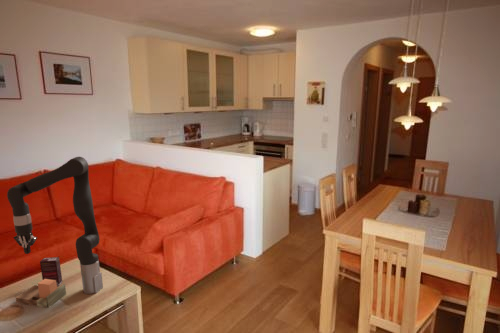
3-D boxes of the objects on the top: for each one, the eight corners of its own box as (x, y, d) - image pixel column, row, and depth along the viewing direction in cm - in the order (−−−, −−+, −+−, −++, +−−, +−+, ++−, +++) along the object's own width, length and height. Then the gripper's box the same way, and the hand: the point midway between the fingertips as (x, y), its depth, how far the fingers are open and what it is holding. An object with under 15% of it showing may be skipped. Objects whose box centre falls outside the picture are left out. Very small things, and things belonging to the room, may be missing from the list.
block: (57, 293, 172) (55, 280, 171) (51, 298, 168) (49, 284, 167) (46, 292, 174) (44, 278, 172) (39, 297, 169) (37, 283, 168)
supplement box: (62, 281, 190) (59, 256, 187) (59, 285, 185) (55, 260, 182) (46, 282, 189) (43, 257, 185) (43, 287, 184) (39, 261, 181)
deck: (66, 294, 177) (65, 284, 176) (48, 307, 166) (47, 297, 164) (35, 289, 181) (34, 280, 180) (16, 302, 170) (14, 292, 168)
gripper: (39, 220, 170) (44, 251, 174) (18, 219, 173) (23, 249, 177) (27, 226, 163) (32, 257, 167) (5, 224, 166) (10, 255, 169)
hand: (27, 253), depth 172 cm, fingers closed
